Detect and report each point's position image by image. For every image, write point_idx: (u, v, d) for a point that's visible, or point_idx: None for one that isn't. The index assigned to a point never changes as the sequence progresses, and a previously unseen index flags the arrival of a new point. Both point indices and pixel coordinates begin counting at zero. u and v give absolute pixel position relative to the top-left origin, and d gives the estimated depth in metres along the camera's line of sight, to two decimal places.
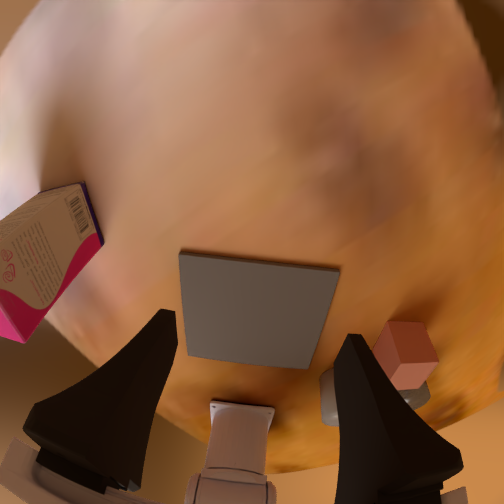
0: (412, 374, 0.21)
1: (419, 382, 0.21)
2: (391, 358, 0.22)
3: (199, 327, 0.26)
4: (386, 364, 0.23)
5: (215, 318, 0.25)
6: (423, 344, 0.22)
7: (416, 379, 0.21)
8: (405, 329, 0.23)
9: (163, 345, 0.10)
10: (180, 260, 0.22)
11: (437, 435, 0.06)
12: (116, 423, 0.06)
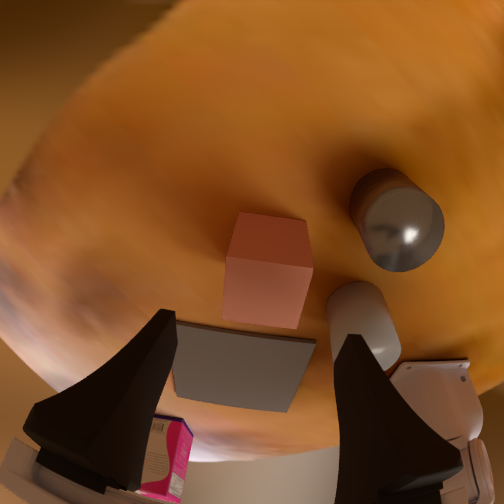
0: (254, 296, 0.14)
1: (287, 275, 0.14)
2: None
3: (246, 402, 0.28)
4: None
5: (233, 393, 0.27)
6: None
7: (277, 282, 0.14)
8: None
9: (163, 345, 0.10)
10: (181, 397, 0.29)
11: (437, 435, 0.06)
12: (116, 423, 0.06)
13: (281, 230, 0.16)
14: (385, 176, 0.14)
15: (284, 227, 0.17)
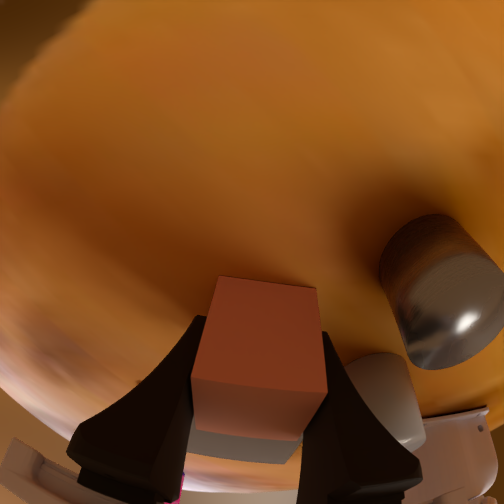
0: (238, 415, 0.09)
1: (285, 399, 0.08)
2: None
3: (239, 456, 0.23)
4: None
5: (224, 449, 0.22)
6: None
7: (270, 405, 0.08)
8: None
9: None
10: None
11: (395, 441, 0.06)
12: (169, 438, 0.06)
13: (279, 312, 0.11)
14: (438, 232, 0.09)
15: (284, 305, 0.11)
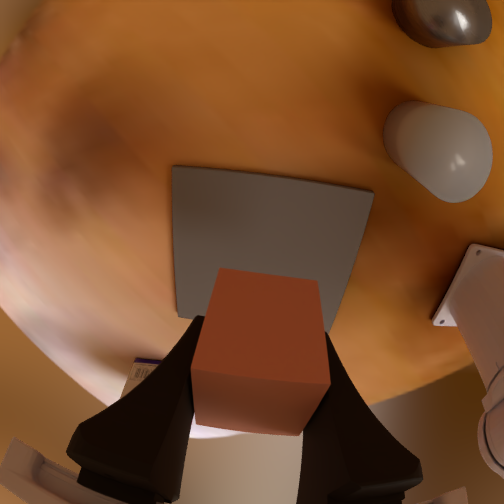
0: (239, 409, 0.09)
1: (288, 391, 0.08)
2: None
3: None
4: None
5: None
6: None
7: (272, 398, 0.08)
8: None
9: None
10: (184, 316, 0.23)
11: (395, 441, 0.06)
12: (169, 438, 0.06)
13: (281, 304, 0.11)
14: None
15: (285, 297, 0.11)
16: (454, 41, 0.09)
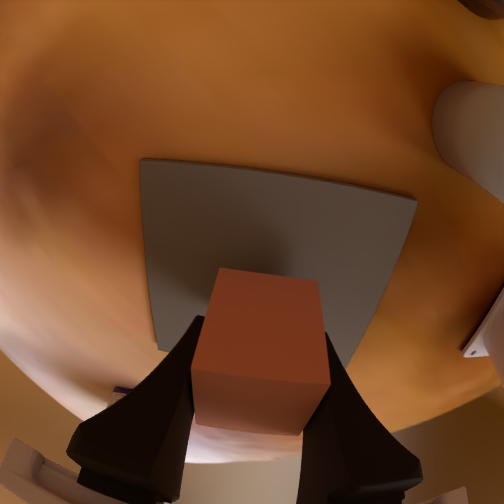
0: (239, 409, 0.09)
1: (288, 391, 0.08)
2: None
3: None
4: None
5: None
6: None
7: (272, 398, 0.08)
8: None
9: None
10: (165, 350, 0.18)
11: (395, 441, 0.06)
12: (169, 438, 0.06)
13: (281, 304, 0.11)
14: None
15: (285, 297, 0.11)
16: None
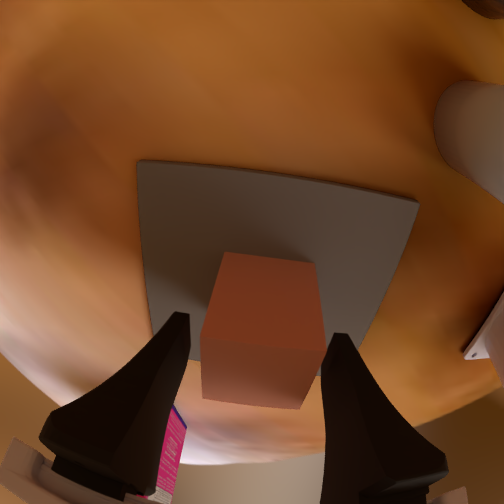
0: (243, 379, 0.10)
1: (288, 359, 0.09)
2: None
3: None
4: None
5: None
6: None
7: (273, 366, 0.09)
8: None
9: (179, 348, 0.10)
10: None
11: (422, 438, 0.06)
12: (136, 429, 0.06)
13: (281, 282, 0.12)
14: None
15: (285, 277, 0.12)
16: None
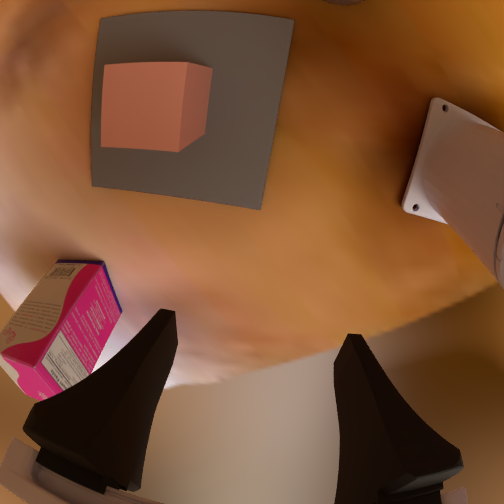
0: (130, 107, 0.11)
1: (160, 74, 0.10)
2: None
3: (192, 179, 0.18)
4: None
5: (172, 153, 0.17)
6: None
7: (150, 85, 0.11)
8: None
9: (163, 345, 0.10)
10: (98, 185, 0.18)
11: (437, 435, 0.06)
12: (116, 423, 0.06)
13: None
14: None
15: None
16: None
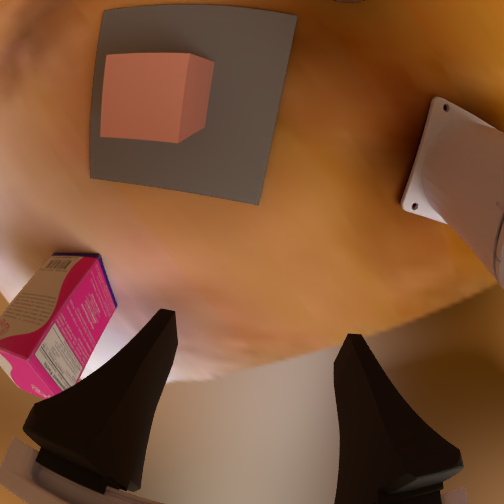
0: (130, 97, 0.11)
1: (162, 65, 0.10)
2: None
3: (191, 172, 0.18)
4: None
5: (171, 146, 0.17)
6: None
7: (152, 76, 0.10)
8: None
9: (163, 345, 0.10)
10: (96, 177, 0.18)
11: (437, 435, 0.06)
12: (116, 423, 0.06)
13: None
14: None
15: None
16: None
